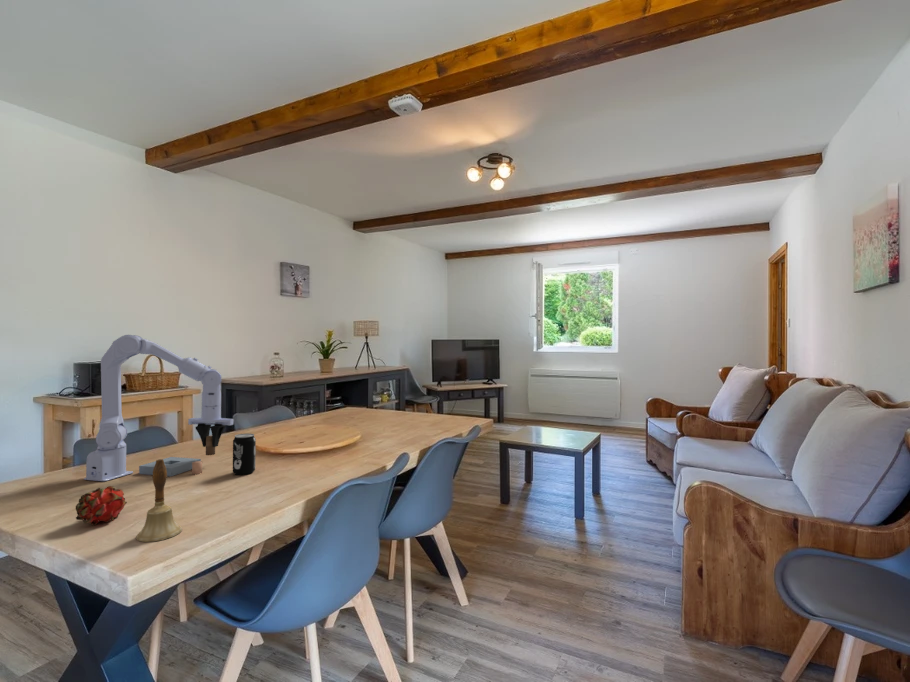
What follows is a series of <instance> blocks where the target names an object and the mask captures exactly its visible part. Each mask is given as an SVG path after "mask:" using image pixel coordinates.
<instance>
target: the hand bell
mask: <svg viewBox="0 0 910 682" xmlns="http://www.w3.org/2000/svg"><path fill="white" fill-rule="evenodd" d="M163 459H164V458H160V459H156V460H155V461H156V464H155V466H154V469H153V475H152V482H153V483H152V484H153V485H154V491H155V492H154V506H153V507H151V508H149V509H148V510H147V512H146V519H145V521H144V522H145V523H144V525H143V527H142V528H141V531H140V532H138V533H137V535H136V538H135V539H136V541H138V542H141V543H152V542H159V541H163V540H167V539H170V538H173V537H176V536H177V535H179V534H180V533H181V532H182V530H183V527H182V526H181V525H180V524H179V523H177V522H176V520H175V518H174V515H173V510H172V507H171V506H170V505H166V504H165V485H166V482H167V477H168V476H167V470H166V466H165V464H164V460H163Z"/></svg>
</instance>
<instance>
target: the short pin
mask: <svg viewBox="0 0 910 682" xmlns="http://www.w3.org/2000/svg"><path fill="white" fill-rule="evenodd" d="M200 473H201V474H203V461H202V460H201V461H196V462H192V470H191V474H192V475H194V474H196V475H201V474H200Z"/></svg>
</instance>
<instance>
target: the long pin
mask: <svg viewBox="0 0 910 682" xmlns="http://www.w3.org/2000/svg"><path fill="white" fill-rule="evenodd" d="M214 455H216V447H213V446H212V435H209V436H206V447H205V456H214Z"/></svg>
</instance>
